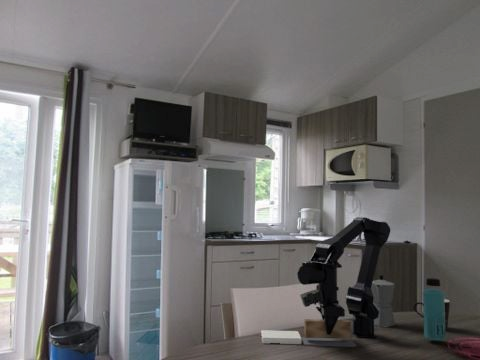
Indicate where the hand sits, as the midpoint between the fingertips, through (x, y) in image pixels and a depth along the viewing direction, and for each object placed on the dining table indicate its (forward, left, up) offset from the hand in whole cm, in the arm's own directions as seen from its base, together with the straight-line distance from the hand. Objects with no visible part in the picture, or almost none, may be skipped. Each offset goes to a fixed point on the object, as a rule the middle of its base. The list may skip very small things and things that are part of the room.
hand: (327, 333), depth 125 cm
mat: (0, 0, -3) cm, 3 cm away
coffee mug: (-43, -21, -3) cm, 48 cm away
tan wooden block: (0, 0, -1) cm, 1 cm away
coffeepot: (-26, -25, -3) cm, 36 cm away
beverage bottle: (-35, -3, -3) cm, 35 cm away
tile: (+15, -6, -2) cm, 16 cm away
